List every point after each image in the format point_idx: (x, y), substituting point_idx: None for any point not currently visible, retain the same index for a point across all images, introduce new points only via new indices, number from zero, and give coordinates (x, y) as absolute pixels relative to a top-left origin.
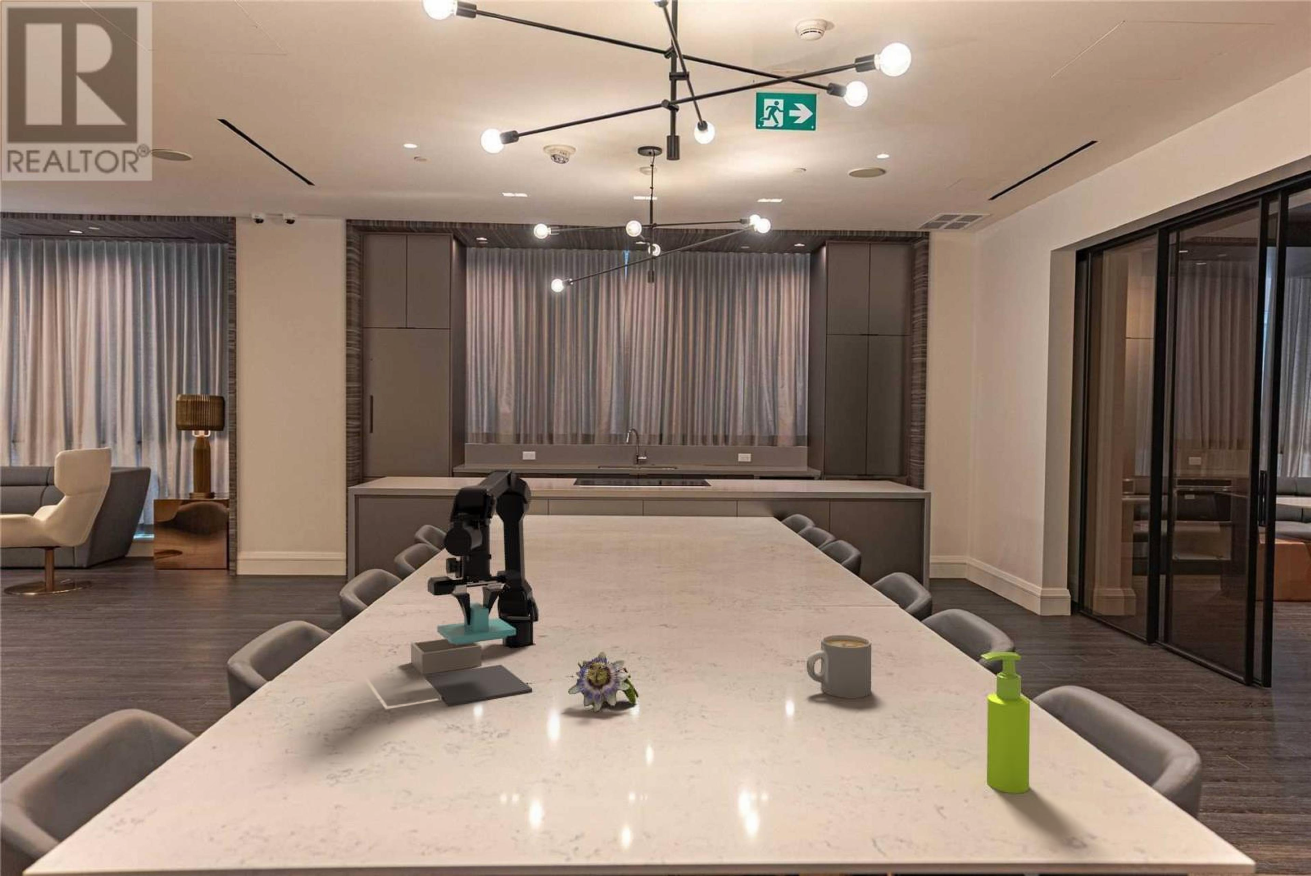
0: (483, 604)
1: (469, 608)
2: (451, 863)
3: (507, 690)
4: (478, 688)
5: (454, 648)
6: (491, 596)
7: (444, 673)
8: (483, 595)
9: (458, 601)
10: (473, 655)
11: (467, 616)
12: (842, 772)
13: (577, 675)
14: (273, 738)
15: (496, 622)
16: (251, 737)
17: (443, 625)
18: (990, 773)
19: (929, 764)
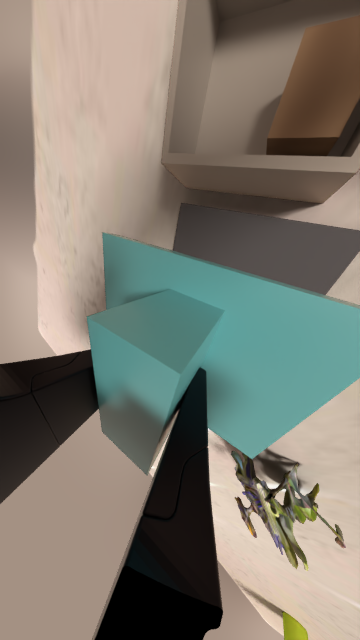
0: (167, 442)
1: (89, 412)
2: None
3: None
4: None
5: (328, 29)
6: (119, 600)
7: (216, 209)
8: (130, 547)
9: (23, 367)
10: (307, 185)
11: None
12: (255, 563)
13: (254, 478)
14: (63, 284)
15: (288, 372)
16: (54, 271)
17: (117, 240)
18: (286, 626)
19: (300, 612)
